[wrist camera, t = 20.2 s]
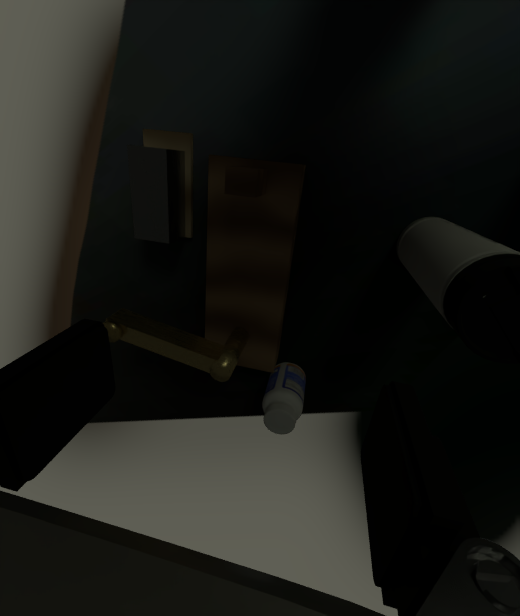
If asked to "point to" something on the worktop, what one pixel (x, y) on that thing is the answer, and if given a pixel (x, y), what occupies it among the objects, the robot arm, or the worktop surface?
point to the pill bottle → (284, 398)
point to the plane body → (250, 252)
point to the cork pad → (185, 144)
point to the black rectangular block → (157, 193)
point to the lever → (178, 343)
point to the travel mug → (467, 284)
